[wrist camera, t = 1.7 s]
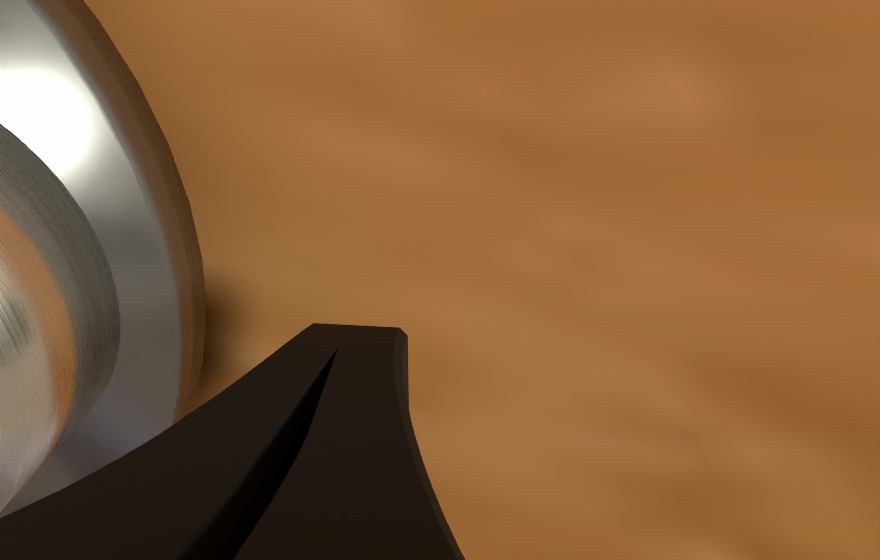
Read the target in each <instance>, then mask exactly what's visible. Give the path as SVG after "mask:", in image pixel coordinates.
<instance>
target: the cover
mask: <svg viewBox="0 0 880 560" xmlns="http://www.w3.org/2000/svg"><path fill="white" fill-rule="evenodd" d="M119 344H120V311H119V304H118V297H117V291H116V287H115V284H114V280H113V277H112V273H111V270H110V266H109V263H108V261H107V258H106V256H105V254H104V251H103V249H102V247H101V244H100V242H99V240H98V237H97V236H96V234H95V232H94V230H93V228H92V227H91V225H90V223H89V221H88V220H87V218H86V216H85V214H84V213H83V211H82V209H81V208H80V207H79V205H78V204H77V202H76V201H75V200H74V198H73V197H72V195H71V194H70V193H69V191H68V190H67V188H66V187H65V185H64V184H63V183H62V182H61V181H60V180H59V178H58V177H57V176H56V175H55V174H54V173H53V172H52V170H51V169H50V168H49V167H48V166H47V165H46V164H45V162H44V161H43V160H42V159H41V158H40V157H39V156H38V155H37V154H36V153H35V152H33V151H32V150H31V149H30V148H29V147H28V146H27V145H26V144H25V143H24V142H23V141H22V140H21V139H20V138H18V137H17V136H16V135H15V134H14V133H13V132H11V131H10V130H9V129H7V128H6V127H5V126H3V125H2V124H1V123H0V512H1V510H2V509H3V508H4V507H5V506H6V505H7V504H8V503H9V501H10V500H11V499H12V498H13V497H14V496H15V495H16V494H17V492H18V491H19V490H20V489H21V488H22V487H23V486H24V485H25V483H26V482H27V481H28V480H29V479H30V478H31V477H32V476H33V475H34V473H35V472H36V471H37V470H38V469H39V468H40V467H41V466H42V464H43V463H44V462H45V461H46V460H47V459H48V458H49V457H50V455H51V454H52V453H53V452H54V451H55V450H56V449H57V448H58V446H59V445H60V444H61V443H62V442H63V441H64V440H65V439H66V438H67V436H68V435H69V434H70V433H71V432H72V431H73V430H74V429H75V427H76V426H77V425H78V424H79V423H80V422H81V421H82V420H83V418H84V417H85V416H86V415H87V414H88V413H89V412H90V410H91V409H92V408H93V407H94V405H95V404H96V403H97V402H98V401H99V399H100V398H101V396H102V394H103V393H104V391H105V389H106V387H107V385H108V384H109V382H110V379H111V376H112V374H113V371H114V368H115V365H116V362H117V356H118V350H119Z"/></svg>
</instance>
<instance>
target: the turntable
mask: <svg viewBox="0 0 880 560" xmlns="http://www.w3.org/2000/svg"><path fill="white" fill-rule="evenodd" d="M0 123H1V124H2V125H3V126H5V127H6V128H7V129H9V130H10V131H11V132H13V133H14V134H15V135H16V136H17V137H18V138H20V139H21V140H22V141H23V142H24V143H25V144H26V145H27V146H28V147H29V148H30V149H31V150H32V151H33V152H35V153H36V154H37V155H38V156H39V157H40V158H41V159H42V160H43V161H44V162H45V164H46V165H47V166H48V167H49V168H50V169H51V170H52V172H53V173H54V174H55V175H56V176H57V177H58V178H59V180H60V181H61V182H62V183H63V184H64V185H65V187H66V188H67V190H68V191H69V193H70V194H71V195H72V197H73V198H74V200H75V201H76V202H77V204H78V205H79V207H80V208H81V209H82V211H83V213H84V214H85V216H86V218H87V220H88V221H89V223H90V225H91V227H92V228H93V230H94V232H95V234H96V236H97V237H98V240H99V242H100V244H101V247H102V249H103V251H104V254H105V256H106V258H107V261H108V263H109V266H110V270H111V273H112V277H113V280H114V284H115V287H116V291H117V297H118V304H119V311H120V344H119V350H118V356H117V362H116V365H115V368H114V371H113V374H112V376H111V379H110V382H109V384H108V385H107V387H106V389H105V391H104V393H103V394H102V396H101V398H100V399H99V401H98V402H97V403H96V404H95V405H94V407H93V408H92V409H91V410H90V412H89V413H88V414H87V415H86V416H85V417H84V418H83V420H82V421H81V422H80V423H79V424H78V425H77V426H76V427H75V429H74V430H73V431H72V432H71V433H70V434H69V435H68V436H67V438H66V439H65V440H64V441H63V442H62V443H61V444H60V445H59V446H58V448H57V449H56V450H55V451H54V452H53V453H52V454H51V455H50V457H49V458H48V459H47V460H46V461H45V462H44V463H43V464H42V466H41V467H40V468H39V469H38V470H37V471H36V472H35V473H34V475H33V476H32V477H31V478H30V479H29V480H28V481H27V482H26V483H25V485H24V486H23V487H22V488H21V489H20V490H19V491H18V492H17V494H16V495H15V496H14V497H13V498H12V499H11V500H10V501H9V503H8V504H7V505H6V506H5V507H4V508H3V509H2V510H1V512H0V518H2V517H4V516H6V515H8V514H10V513H12V512H14V511H17V510H19V509H21V508H23V507H25V506H27V505H29V504H31V503H34V502H36V501H38V500H40V499H42V498H44V497H46V496H48V495H50V494H53V493H55V492H57V491H59V490H61V489H63V488H65V487H67V486H69V485H71V484H73V483H75V482H77V481H78V480H80V479H82V478H84V477H86V476H88V475H89V474H91V473H93V472H95V471H97V470H98V469H100V468H102V467H104V466H106V465H108V464H109V463H111V462H113V461H115V460H117V459H118V458H120V457H122V456H124V455H125V454H127V453H129V452H130V451H132V450H134V449H136V448H137V447H139V446H141V445H142V444H144V443H146V442H147V441H149V440H150V439H152V438H154V437H155V436H157V435H159V434H160V433H162V432H163V431H165V430H166V429H168V428H169V427H171V426H172V425H173V424H175V423H176V422H178V421H179V420H181V419H182V418H184V417H185V416H187V415H188V413H189V411H190V408H191V406H192V403H193V401H194V398H195V393H196V389H197V385H198V380H199V376H200V371H201V367H202V363H203V358H204V344H205V328H206V312H207V310H206V298H205V287H204V275H203V263H202V256H201V252H200V247H199V243H198V238H197V234H196V229H195V225H194V220H193V216H192V211H191V207H190V203H189V200H188V197H187V195H186V192H185V189H184V186H183V183H182V181H181V178H180V175H179V172H178V169H177V167H176V164H175V161H174V158H173V155H172V153H171V150H170V147H169V144H168V142H167V140H166V138H165V136H164V134H163V132H162V130H161V128H160V126H159V124H158V122H157V120H156V118H155V116H154V114H153V112H152V110H151V108H150V106H149V104H148V102H147V100H146V97H145V95H144V93H143V91H142V89H141V87H140V85H139V83H138V82H137V80H136V78H135V77H134V75H133V74H132V72H131V70H130V69H129V67H128V66H127V64H126V63H125V61H124V59H123V58H122V56H121V55H120V53H119V52H118V50H117V48H116V47H115V45H114V44H113V42H112V40H111V39H110V37H109V36H108V34H107V33H106V31H105V29H104V28H103V26H102V25H101V23H100V22H99V20H98V19H97V17H96V16H95V15H94V14H93V12H92V11H91V10H90V8H89V7H88V6H87V5H86V3H85V2H84V1H83V0H0Z"/></svg>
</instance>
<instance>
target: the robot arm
mask: <svg viewBox="0 0 880 560" xmlns="http://www.w3.org/2000/svg"><path fill="white" fill-rule="evenodd" d="M0 560H465V558H464V556H463V555H462V553H461V551H460V549H459V547H458V545H457V543H456V540H455V538H454V536H453V534H452V532H451V530H450V528H449V525H448V523H447V521H446V519H445V517H444V515H443V512H442V510H441V507H440V505H439V503H438V500H437V498H436V495H435V493H434V491H433V488H432V485H431V483H430V480H429V477H428V475H427V472H426V469H425V466H424V463H423V460H422V457H421V454H420V450H419V447H418V444H417V441H416V437H415V434H414V430H413V426H412V422H411V418H410V413H409V393H408V336H407V335H406V334H405V333H404V332H403V331H402V330H401V329H400V328H395V327H376V326H357V325H338V324H318V323H313V324H312V325H310V326H309V327H307V328H306V329H304V330H303V331H302V332H300V333H299V334H298V335H296V336H295V337H294V338H292V339H291V340H290V341H288V342H287V343H286V344H285V345H283V346H282V347H281V348H279V349H278V350H277V351H275V352H274V353H273V354H272V355H270V356H269V357H268V358H266V359H265V360H264V361H263V362H261V363H260V364H259V365H257V366H256V367H255V368H253V369H252V370H251V371H249V372H248V373H246V374H245V375H244V376H242V377H241V378H240V379H238V380H237V381H236V382H234V383H233V384H232V385H230V386H229V387H228V388H226V389H225V390H224V391H222V392H221V393H220V394H218V395H217V396H215V397H214V398H212V399H211V400H209V401H208V402H206V403H205V404H203V405H202V406H200V407H199V408H197V409H196V410H194V411H193V412H191V413H190V414H188V415H187V416H185V417H184V418H182V419H181V420H179V421H178V422H176V423H175V424H173V425H172V426H171V427H169V428H168V429H166V430H165V431H163V432H162V433H160V434H159V435H157V436H155V437H154V438H152V439H150V440H149V441H147V442H146V443H144V444H142V445H141V446H139V447H137V448H136V449H134V450H132V451H130V452H129V453H127V454H125V455H124V456H122V457H120V458H118V459H117V460H115V461H113V462H111V463H109V464H108V465H106V466H104V467H102V468H100V469H98V470H97V471H95V472H93V473H91V474H89V475H88V476H86V477H84V478H82V479H80V480H78V481H77V482H75V483H73V484H71V485H69V486H67V487H65V488H63V489H61V490H59V491H57V492H55V493H53V494H50V495H48V496H46V497H44V498H42V499H40V500H38V501H36V502H34V503H31V504H29V505H27V506H25V507H23V508H21V509H19V510H17V511H14V512H12V513H10V514H8V515H6V516H4V517H2V518H0Z"/></svg>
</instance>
